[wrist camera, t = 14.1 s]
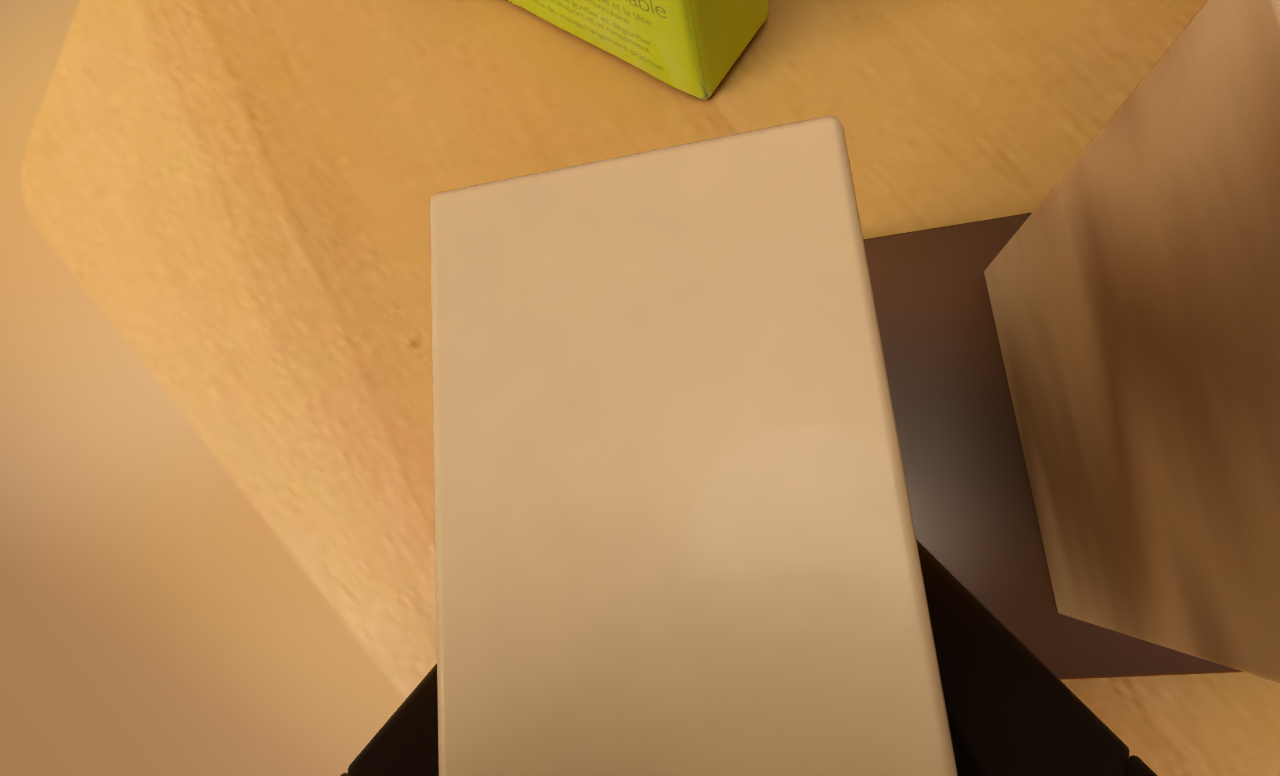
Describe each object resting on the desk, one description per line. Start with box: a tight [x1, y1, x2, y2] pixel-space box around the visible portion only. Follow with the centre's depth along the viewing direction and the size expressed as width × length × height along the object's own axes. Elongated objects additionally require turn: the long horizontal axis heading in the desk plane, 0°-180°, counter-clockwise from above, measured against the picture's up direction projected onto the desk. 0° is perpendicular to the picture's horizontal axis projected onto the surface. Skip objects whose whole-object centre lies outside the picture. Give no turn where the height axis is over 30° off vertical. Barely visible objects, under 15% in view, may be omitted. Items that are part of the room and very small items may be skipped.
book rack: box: [863, 0, 1280, 683], centre depth 12 cm, size 12×20×11 cm, turn 95°
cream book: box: [430, 116, 958, 776], centre depth 9 cm, size 9×3×10 cm, turn 5°
